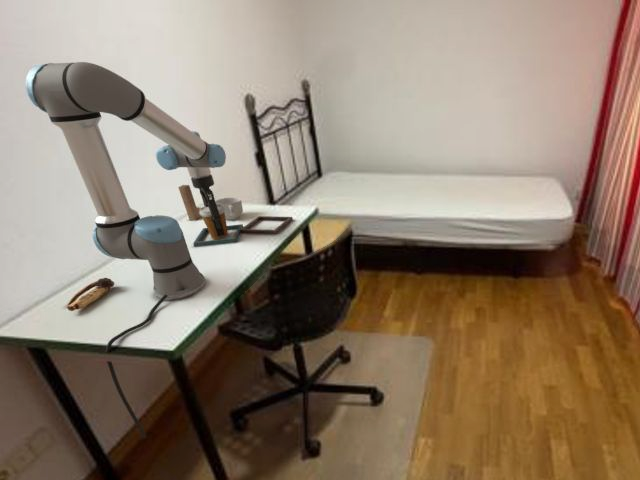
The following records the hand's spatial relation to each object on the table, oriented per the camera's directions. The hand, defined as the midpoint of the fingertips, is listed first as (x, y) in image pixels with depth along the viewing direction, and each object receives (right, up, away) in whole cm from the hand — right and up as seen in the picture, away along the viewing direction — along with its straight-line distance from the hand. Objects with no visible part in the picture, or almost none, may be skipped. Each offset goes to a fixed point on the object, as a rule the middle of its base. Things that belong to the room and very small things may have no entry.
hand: (218, 232), depth 182 cm
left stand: (0, -2, +1) cm, 2 cm away
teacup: (-2, +9, +19) cm, 21 cm away
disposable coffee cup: (0, -2, +1) cm, 2 cm away
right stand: (+17, +4, +8) cm, 19 cm away
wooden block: (-20, +10, +22) cm, 31 cm away
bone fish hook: (-24, -29, -39) cm, 54 cm away
